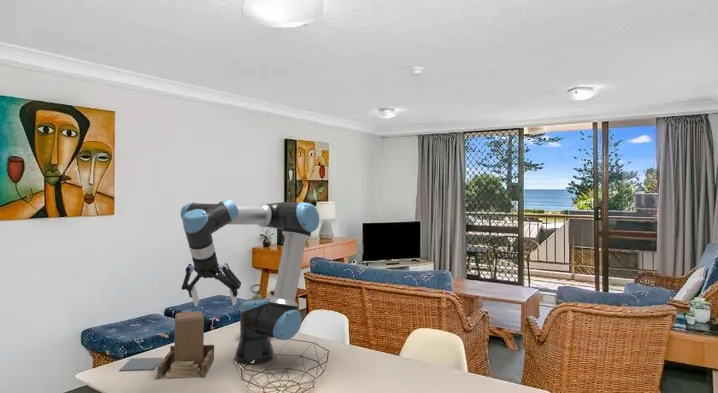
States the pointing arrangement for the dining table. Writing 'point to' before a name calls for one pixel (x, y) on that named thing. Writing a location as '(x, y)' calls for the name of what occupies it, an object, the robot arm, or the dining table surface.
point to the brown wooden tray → (185, 365)
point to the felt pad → (141, 364)
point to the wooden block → (189, 337)
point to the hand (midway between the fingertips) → (215, 303)
